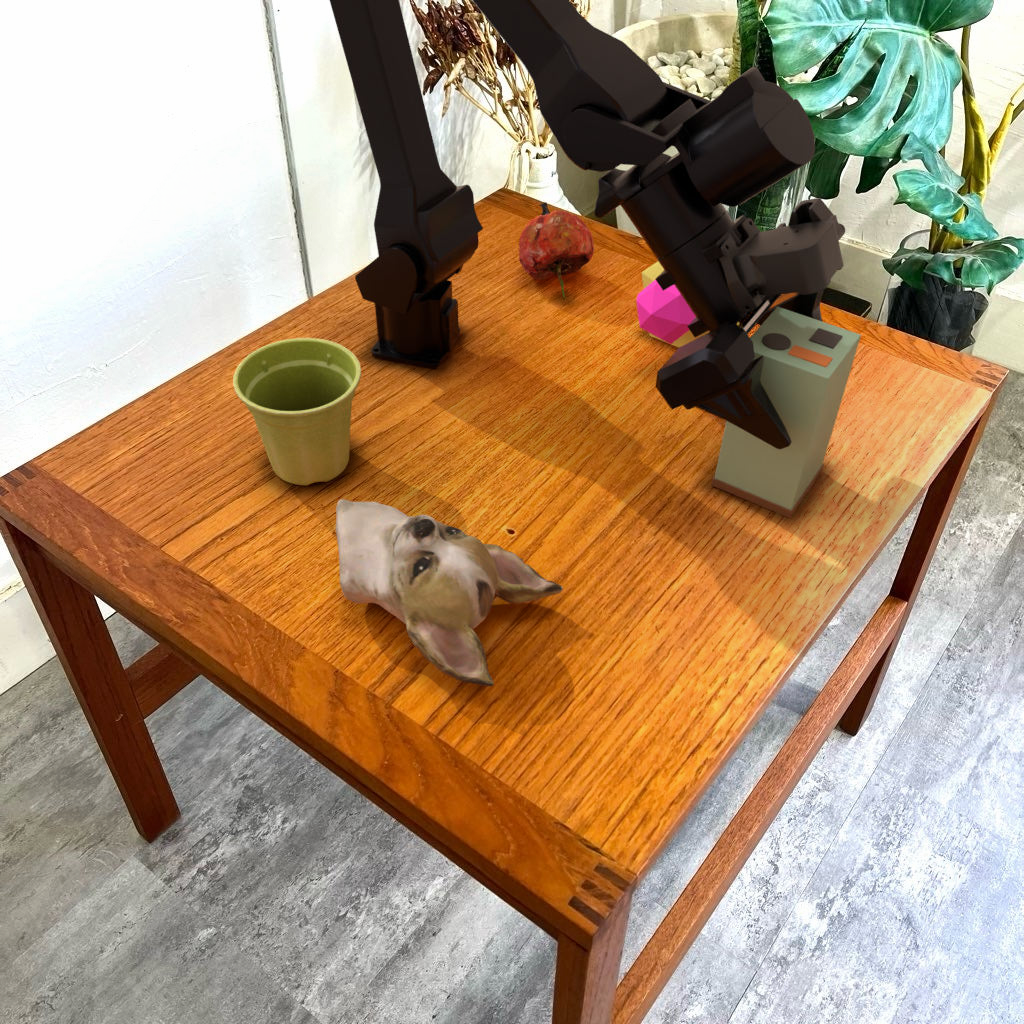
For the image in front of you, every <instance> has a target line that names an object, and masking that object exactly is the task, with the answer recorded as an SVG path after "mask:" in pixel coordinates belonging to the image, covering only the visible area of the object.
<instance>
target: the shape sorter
mask: <svg viewBox="0 0 1024 1024" xmlns="http://www.w3.org/2000/svg"><path fill="white" fill-rule="evenodd" d="M822 321H823V320H822ZM822 321H819V320H816V319H813V318H810V317H807V316H804V315H801V314H798V313H795V312H792V311H789V310H786V309H783V308H780V307H777V308H776V309H775V310H774V311H773V312H772V313H771V314H770V316H769V317H768V318H767V319H766V320H765V321H764V322H763V324H762V325H761V326H760V325H759V327H758V328H757V329H756V330H755V331H754V332H753V334H752V335H751V336H749V337H750V339H751V340H752V342H753V347H754V356H755V358H754V359H756V358H758V357H760V356H764V361H763V367H762V372H761V378H760V381H761V384H762V386H763V388H764V389H765V391H766V393H767V395H768V397H769V398H770V400H771V402H772V404H773V406H774V407H775V409H776V411H777V413H778V415H779V416H780V418H781V420H782V422H783V424H784V425H785V428H786V430H787V432H788V434H789V436H790V439H791V441H792V442H791V444H790V446H788V447H786V448H783V449H777V448H775V447H773V446H771V445H769V444H768V443H766V442H764V441H762V440H761V439H759V438H757V437H755V436H753V435H752V434H750V433H748V432H746V431H744V430H743V429H741V428H739V427H737V426H735V425H733V424H732V423H730V422H728V421H726V420H725V425H724V430H723V435H722V440H721V444H720V450H719V454H718V460H717V465H716V468H715V474H714V476H713V477H712V481H711V486H712V487H714V488H717V489H719V490H721V491H724V492H726V493H728V494H731V495H734V496H736V497H738V498H741V499H744V500H746V501H747V502H750V503H752V504H755V505H757V506H760V507H762V508H764V509H767V510H769V511H772V512H773V513H776V514H778V515H781V516H784V517H786V518H789V519H791V518H792V517H793V515H794V513H795V512H796V510H797V509H798V507H799V506H800V505H801V503H802V501H804V499H805V498H806V496H807V494H808V493H809V491H810V490H811V488H812V487H813V485H814V484H815V482H816V481H817V479H818V478H819V477H820V475H821V473H823V469H824V461H825V457H826V454H827V451H828V447H829V444H830V441H831V437H832V434H833V431H834V427H835V424H836V421H837V418H838V414H839V411H840V407H841V405H842V400H843V397H844V394H845V390H846V387H847V383H848V381H849V377H850V374H851V371H852V366H853V364H854V360H855V357H856V355H857V350H858V347H859V344H860V341H861V337H862V334H860V333H858V332H854V331H852V330H848V329H846V328H842V327H840V326H837V325H834V324H831V323H828V322H825V321H823V322H822ZM754 359H753V360H754Z"/></svg>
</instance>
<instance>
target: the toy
mask: <svg viewBox="0 0 1024 1024" xmlns="http://www.w3.org/2000/svg"><path fill="white" fill-rule="evenodd" d="M663 271H664V269H663V267H662V266H661V264H660V263H659V261H658V260H657V261H656V262H654V263H653V264H652V265H650V266H649V267H647V268H646V269H644V270H642V272H641V280H642V287H643V289H642V290H641V291H639V292H638V293H637V295H636V300H635V301H636V309H637V318H638V324H639V328H640V329H641V330H643V331H645V332H647V333H648V336H649V337H652V338H654V339H657V340H659V341H661V342H664V343H666V344H669V345H672V346H674V347H677V348H680V347H681V346H683V345H685V344H687V343H689V342H691V341H693V340H695V339H697V338H699V337H701V336H703V335H705V334H707V333H709V332H710V331H707V332H705V333H703V334H701V335H699V336H697V337H694V336H693V334H692V333H691V331H690V330H689V328H688V327H687V326H688V325H689V324H690V323H691V322H692V321H693V319H694V318H695V317H696V316H695V315H694V313H693V312H692V310H691V309H690V307H689V306H688V304H687V303H686V301H685V300H684V298H683V297H682V296H681V294H680V293H679V291H678V290H677V288H676V287H675V285H672V286H670V287H669V288H667V289H665V290H662V288H661V287H660V285H659V284H658V282H657V281H656V280H655V279H656V278H657V277H658V276H659V275H660V274H661V273H662V272H663ZM739 324H740V323H739V322H738V323H737V325H739Z"/></svg>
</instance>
